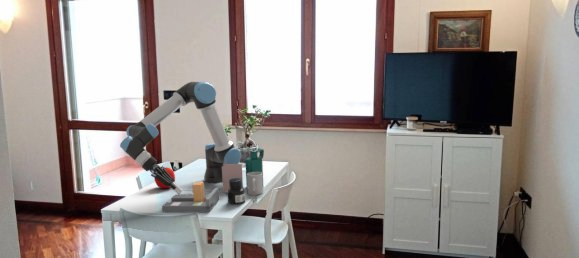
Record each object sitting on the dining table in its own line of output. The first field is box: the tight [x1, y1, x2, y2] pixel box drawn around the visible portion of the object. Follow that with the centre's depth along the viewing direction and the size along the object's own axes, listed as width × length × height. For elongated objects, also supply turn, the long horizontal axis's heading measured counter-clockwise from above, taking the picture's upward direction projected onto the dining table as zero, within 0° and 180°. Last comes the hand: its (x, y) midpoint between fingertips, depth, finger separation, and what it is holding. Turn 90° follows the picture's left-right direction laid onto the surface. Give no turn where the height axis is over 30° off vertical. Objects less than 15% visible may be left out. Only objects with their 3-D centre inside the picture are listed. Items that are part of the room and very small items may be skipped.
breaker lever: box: [192, 181, 206, 202], centre depth 235 cm, size 4×6×10 cm, turn 175°
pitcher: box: [244, 148, 265, 186], centre depth 266 cm, size 10×8×22 cm
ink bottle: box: [227, 178, 246, 205], centre depth 239 cm, size 10×9×12 cm
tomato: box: [153, 166, 176, 189], centre depth 270 cm, size 12×12×13 cm
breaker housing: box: [161, 187, 221, 213], centre depth 236 cm, size 24×20×6 cm
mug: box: [246, 172, 264, 196], centre depth 253 cm, size 12×8×11 cm
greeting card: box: [222, 163, 244, 193], centre depth 260 cm, size 11×7×15 cm, turn 74°
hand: (180, 192), depth 236 cm, fingers closed
